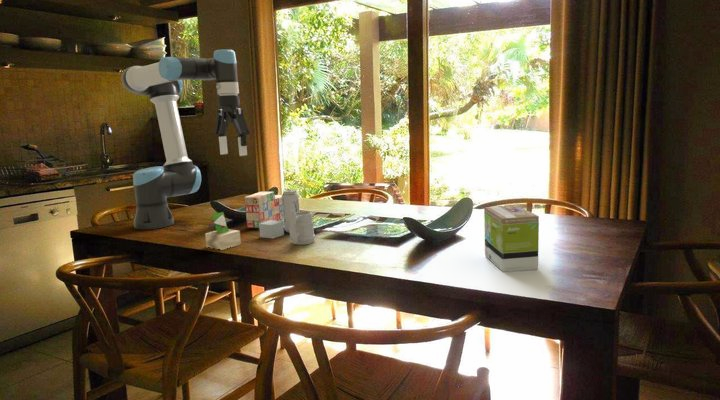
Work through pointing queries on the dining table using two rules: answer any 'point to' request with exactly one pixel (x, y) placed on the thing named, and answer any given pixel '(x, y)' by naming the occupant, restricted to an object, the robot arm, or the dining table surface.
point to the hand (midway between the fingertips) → (233, 154)
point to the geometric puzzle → (220, 222)
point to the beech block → (223, 239)
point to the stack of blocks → (263, 208)
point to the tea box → (511, 238)
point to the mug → (301, 227)
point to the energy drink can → (289, 206)
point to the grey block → (271, 229)
